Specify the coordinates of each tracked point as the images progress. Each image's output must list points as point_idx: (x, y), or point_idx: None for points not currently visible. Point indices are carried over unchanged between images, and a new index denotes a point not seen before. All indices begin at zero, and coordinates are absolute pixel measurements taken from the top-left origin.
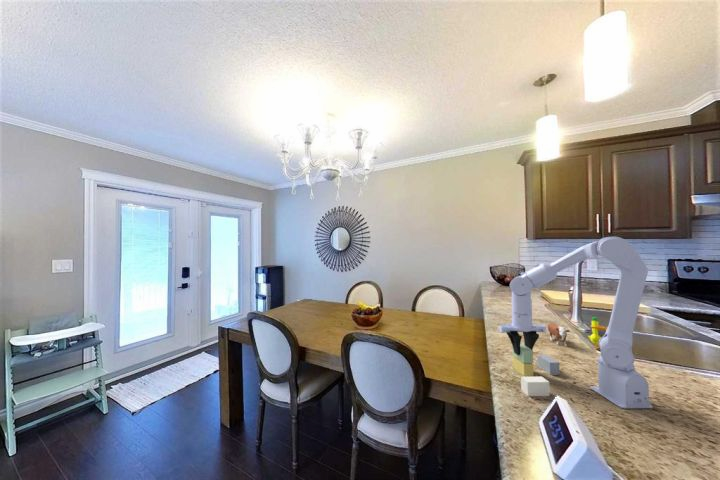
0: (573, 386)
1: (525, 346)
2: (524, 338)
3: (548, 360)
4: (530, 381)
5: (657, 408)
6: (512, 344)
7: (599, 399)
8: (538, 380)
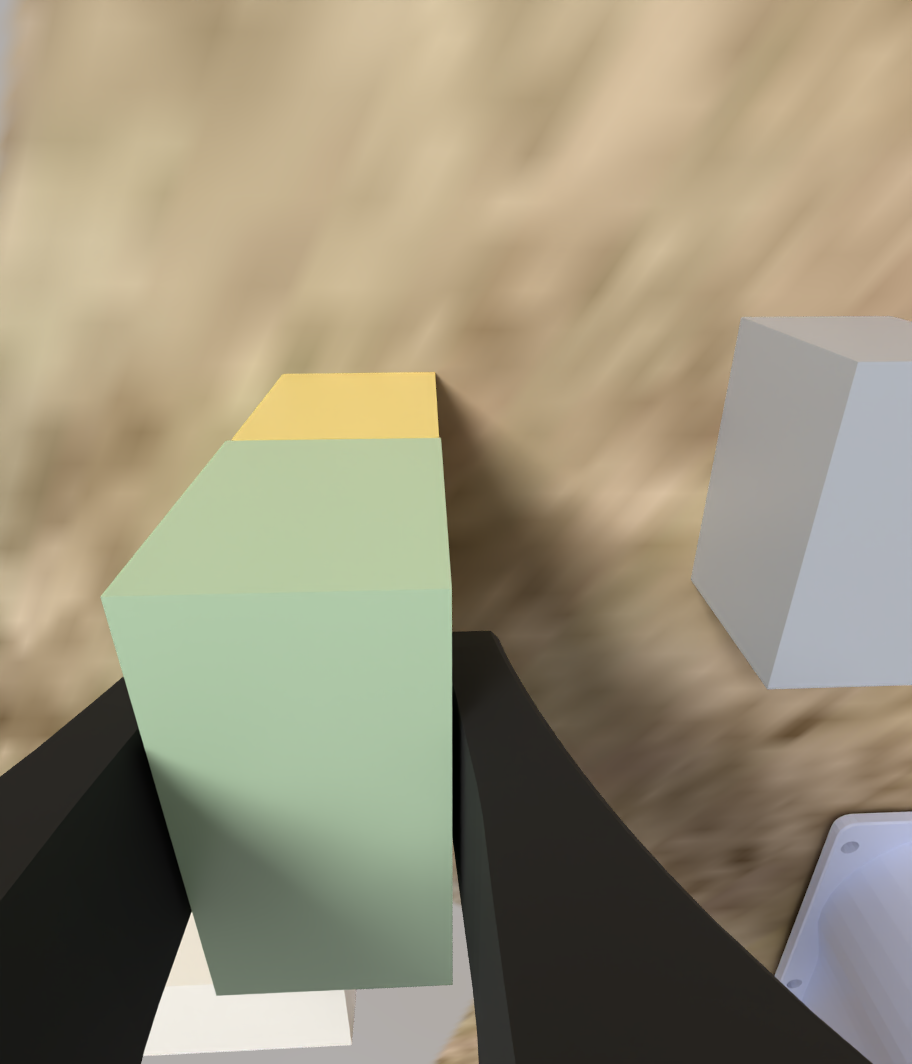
0: (716, 784)
1: (421, 815)
2: (492, 950)
3: (819, 620)
4: (154, 1049)
5: None
6: (16, 790)
7: (736, 918)
8: (254, 1031)
